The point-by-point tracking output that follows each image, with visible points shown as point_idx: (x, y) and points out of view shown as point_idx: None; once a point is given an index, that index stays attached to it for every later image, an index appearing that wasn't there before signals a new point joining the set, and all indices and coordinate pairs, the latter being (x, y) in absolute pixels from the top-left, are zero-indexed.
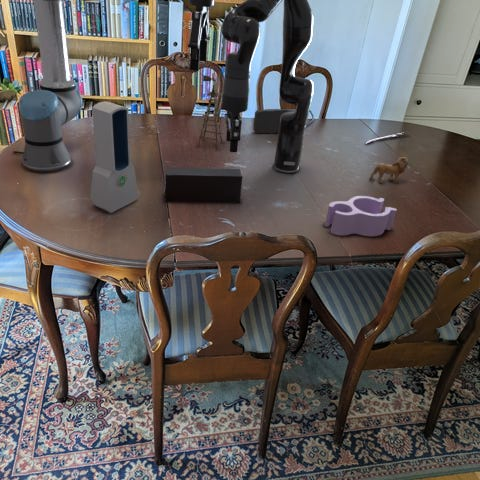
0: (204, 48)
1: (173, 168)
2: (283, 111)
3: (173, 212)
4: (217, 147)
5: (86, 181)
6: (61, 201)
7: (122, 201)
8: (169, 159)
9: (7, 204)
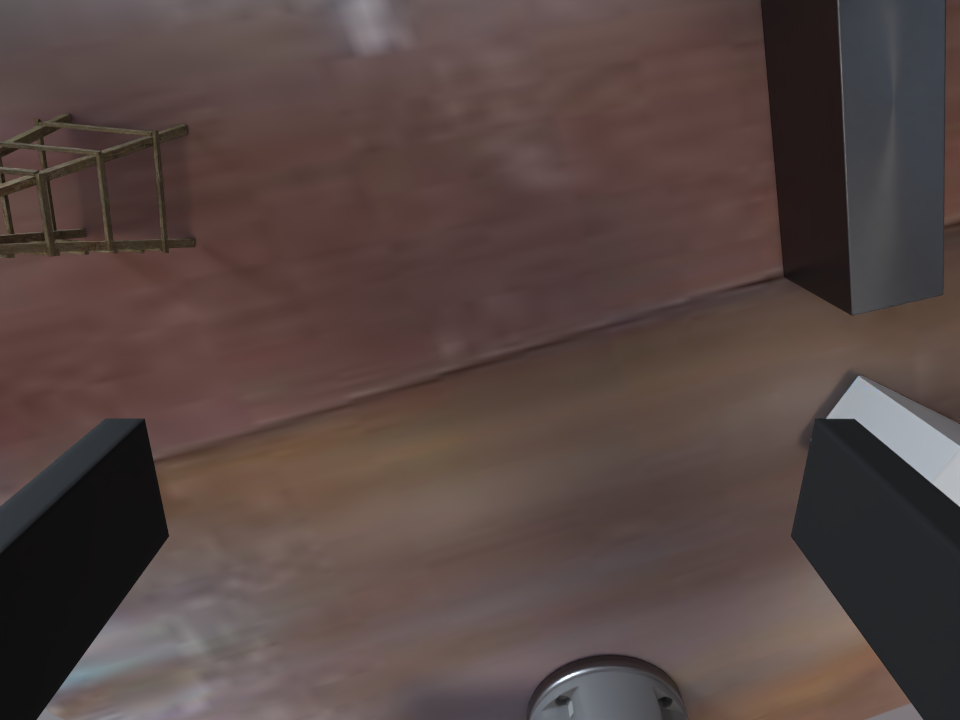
0: (10, 601)
1: (866, 274)
2: None
3: (949, 206)
4: (181, 128)
5: (717, 570)
6: None
7: (931, 412)
8: (418, 344)
9: (906, 698)
